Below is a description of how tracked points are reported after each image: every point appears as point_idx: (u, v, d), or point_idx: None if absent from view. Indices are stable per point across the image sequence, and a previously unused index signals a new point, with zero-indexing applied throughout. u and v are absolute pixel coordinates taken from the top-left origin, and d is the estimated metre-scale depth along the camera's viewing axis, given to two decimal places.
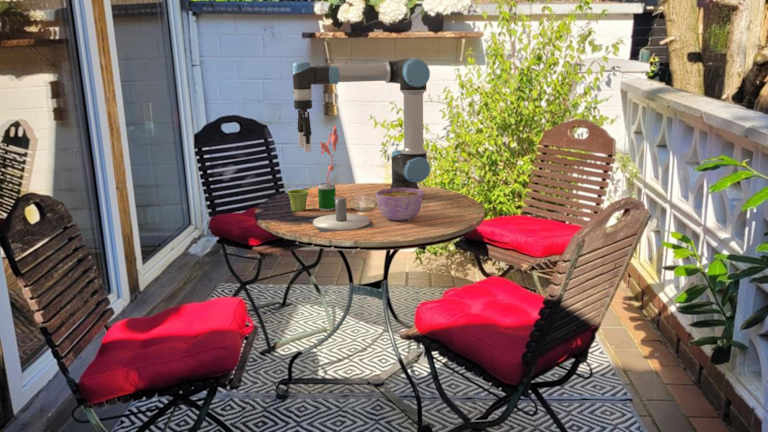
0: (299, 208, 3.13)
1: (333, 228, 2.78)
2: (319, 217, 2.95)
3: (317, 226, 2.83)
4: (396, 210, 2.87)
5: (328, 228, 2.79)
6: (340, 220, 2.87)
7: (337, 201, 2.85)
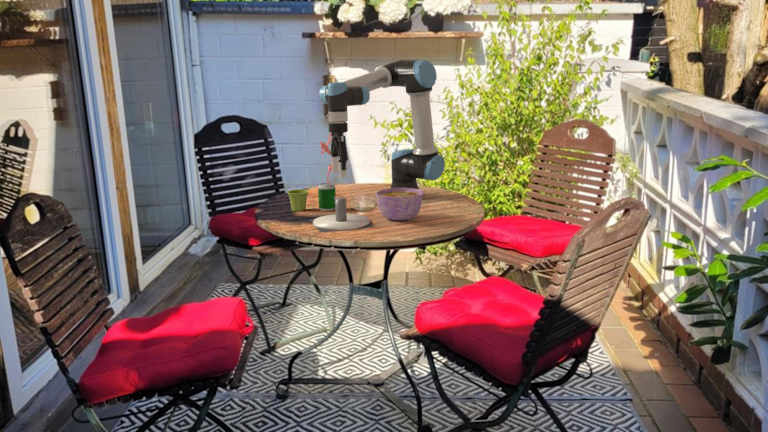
0: (299, 208, 3.13)
1: (333, 228, 2.78)
2: (319, 217, 2.95)
3: (317, 226, 2.83)
4: (396, 210, 2.87)
5: (328, 228, 2.79)
6: (340, 220, 2.87)
7: (337, 201, 2.85)
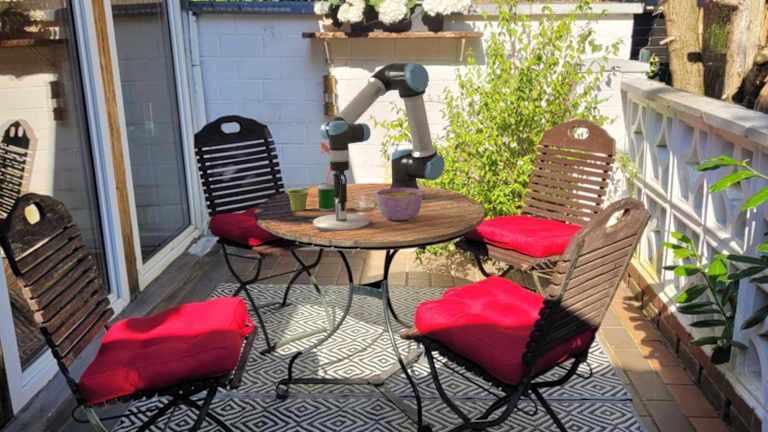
0: (299, 208, 3.13)
1: (333, 228, 2.78)
2: (319, 217, 2.95)
3: (317, 226, 2.83)
4: (396, 210, 2.87)
5: (328, 228, 2.79)
6: (340, 220, 2.87)
7: (337, 201, 2.85)
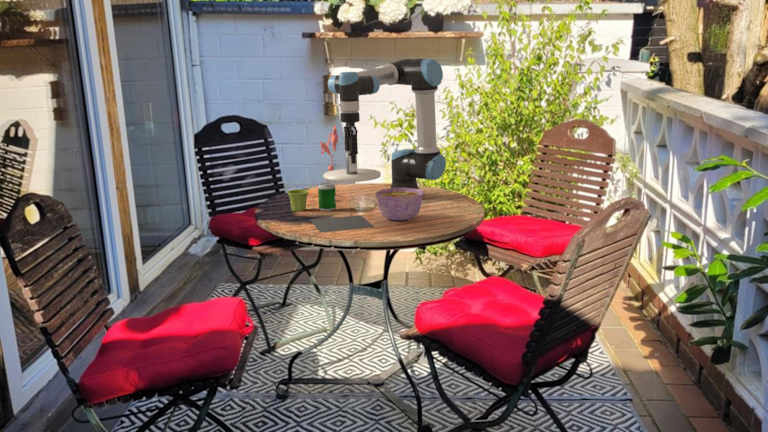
0: (299, 208, 3.13)
1: (344, 180, 2.76)
2: (329, 171, 2.92)
3: (327, 178, 2.80)
4: (396, 210, 2.87)
5: (338, 180, 2.76)
6: (351, 173, 2.84)
7: (347, 153, 2.83)
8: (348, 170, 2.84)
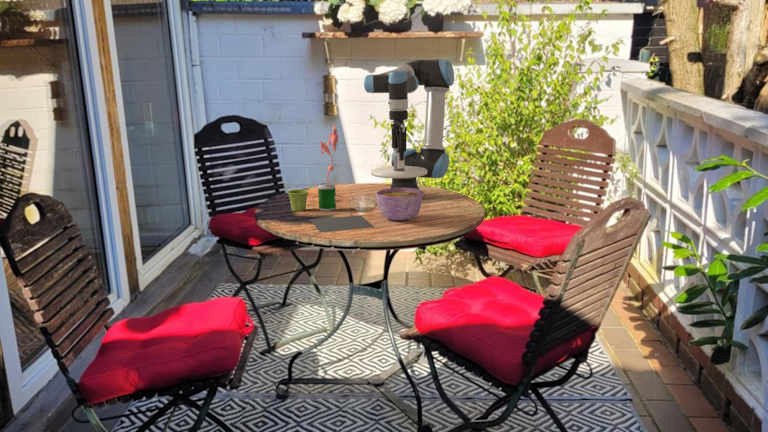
0: (299, 208, 3.13)
1: (393, 176, 2.81)
2: (376, 168, 2.97)
3: (376, 175, 2.85)
4: (396, 210, 2.87)
5: (388, 176, 2.81)
6: (398, 170, 2.89)
7: (396, 150, 2.88)
8: (396, 167, 2.89)
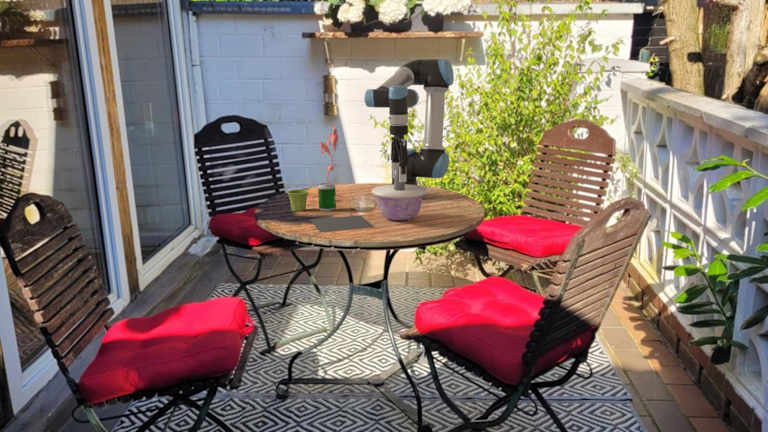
0: (299, 208, 3.13)
1: (393, 196, 2.83)
2: (376, 187, 2.99)
3: (377, 194, 2.87)
4: (396, 210, 2.87)
5: (388, 196, 2.83)
6: (399, 189, 2.91)
7: (396, 170, 2.90)
8: (396, 186, 2.91)
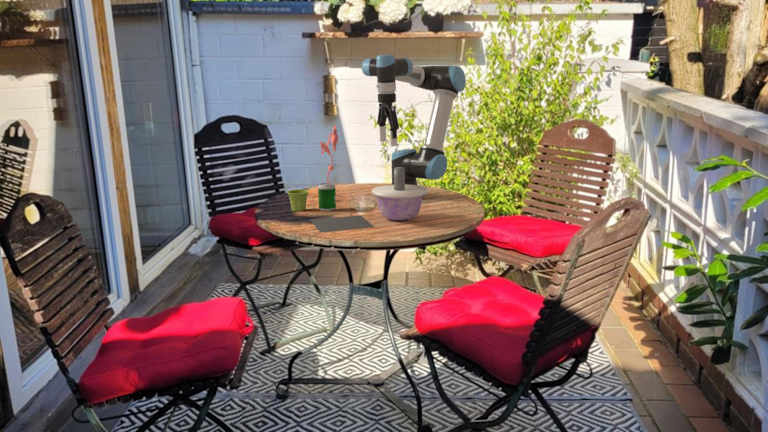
0: (299, 208, 3.13)
1: (393, 196, 2.83)
2: (376, 187, 2.99)
3: (377, 194, 2.87)
4: (396, 210, 2.87)
5: (388, 196, 2.83)
6: (399, 189, 2.91)
7: (396, 170, 2.90)
8: (396, 186, 2.91)
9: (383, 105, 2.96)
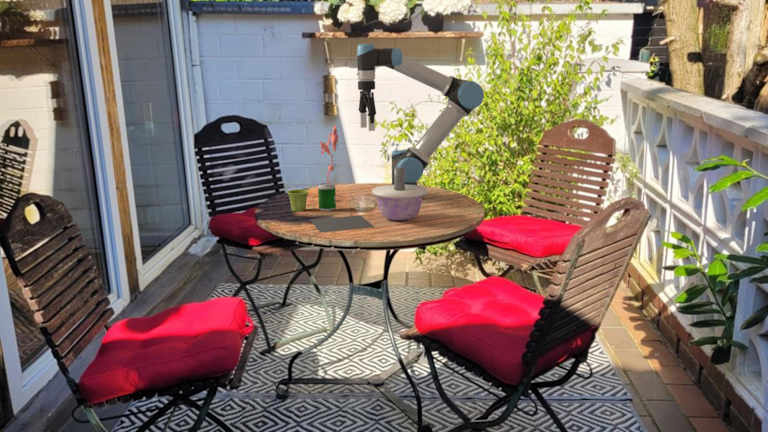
0: (299, 208, 3.13)
1: (393, 196, 2.83)
2: (377, 187, 2.99)
3: (377, 194, 2.87)
4: (396, 210, 2.87)
5: (388, 196, 2.83)
6: (399, 189, 2.91)
7: (396, 170, 2.90)
8: (396, 186, 2.91)
9: (363, 92, 3.12)
